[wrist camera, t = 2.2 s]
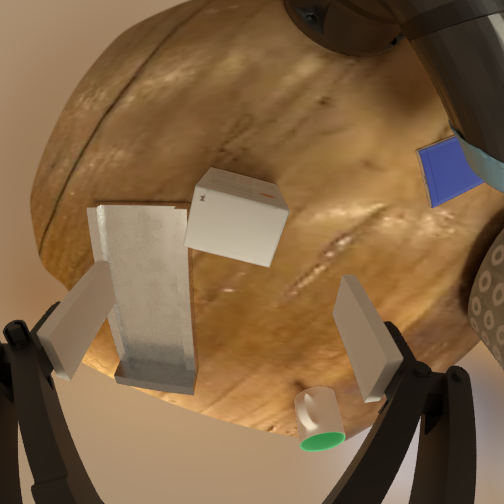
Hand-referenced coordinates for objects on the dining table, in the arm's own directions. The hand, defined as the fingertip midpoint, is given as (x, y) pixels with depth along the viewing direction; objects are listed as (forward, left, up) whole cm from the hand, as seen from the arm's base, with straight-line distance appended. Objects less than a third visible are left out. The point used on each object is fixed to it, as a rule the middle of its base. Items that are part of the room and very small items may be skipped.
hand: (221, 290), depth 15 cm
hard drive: (-8, +29, -20) cm, 36 cm away
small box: (0, 0, -20) cm, 20 cm away
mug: (+36, +15, -20) cm, 44 cm away
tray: (+15, -12, -19) cm, 27 cm away
